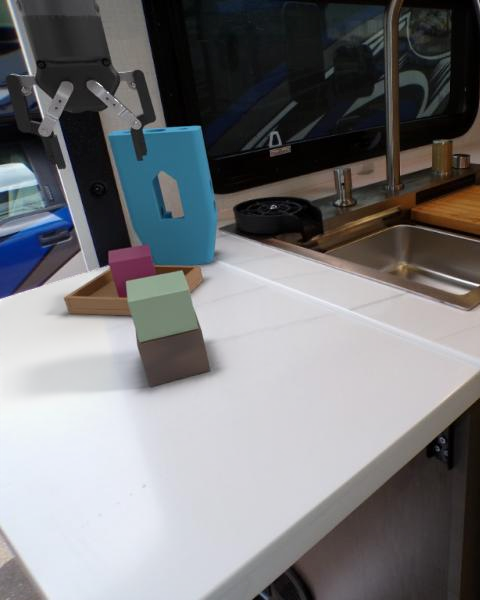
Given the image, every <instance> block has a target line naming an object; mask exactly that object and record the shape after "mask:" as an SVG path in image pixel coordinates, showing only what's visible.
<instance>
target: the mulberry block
mask: <svg viewBox="0 0 480 600" xmlns="http://www.w3.org/2000/svg"><path fill="white" fill-rule="evenodd" d="M107 254H108V255H107V256H108V266H109V268H110V270H111V273H112V276H113V279H114V283H115V286H116V289H117V293H118V296H119V297H120V298H127V289H126V281H130V280H135V279H140V278H145V277H150V276H155V275H156V272H155V268H154V264H153V260H152V256H151V253H150V249H149V245H148V244H147V245H142V244H141V245H136V246H130V247H124V248H117V249H113V250H108V253H107Z"/></svg>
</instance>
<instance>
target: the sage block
mask: <svg viewBox="0 0 480 600" xmlns="http://www.w3.org/2000/svg"><path fill="white" fill-rule="evenodd" d="M126 289H127V300H128V305H129V309H130V312H131V315H132V316H131V315H130V316H131V319H132V322H133V326H134V328H135V329H136V331H135V333H136V332H137V336H138V339H139V342H140V343H141V342H145V341H149V340H154V339H158V338H162V337H166V336H171V335H175V334H179V333H183V332H187V331H192V330H196V329H198V325H197V320H196V316H195V312H196V311H195V312H194V309H195V307H194V304H193V300H192V295H191V292H190V290H189V287H188V284H187V282H186V279H185V276H184V273H183V271H182V270H181V271H176V272H171V273H166V274H161V275H155V276H150V277H145V278H140V279H135V280H130V281H126ZM193 307H194V308H193ZM135 329H134V330H135Z"/></svg>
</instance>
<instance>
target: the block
mask: <svg viewBox="0 0 480 600" xmlns="http://www.w3.org/2000/svg"><path fill="white" fill-rule="evenodd" d="M202 129H203V128H202V126H201V125H190V126H189V125H188V126H187V125H186V126H170V127H155V128H154V127H153V128H143V134H144V139H145V143H146V147H147V155H145V156H142V157H143V161H137V158H136V154H135V150H134V145H133V141H132V137H131V133H130V129H121V130H115V131H112V132H110V133H109V134H107V139H108V142H109V145H110V150H111V153H112V157H113V160H114V164H115V168H116V172H117V175H118V179H119V183H120V187H121V191H122V194H123V197H124V200H125V204H126V208H127V212H128V216H129V219H130V223H131V227H132V229H133V231H134V233H135V235H136V236H137V238H138V240H139V241H140V243H141V245H147V244H148V245H149V249H150V253H151V256H152V260H153V264H154V265H176V266H200V265H207V264H210V263H213V260H214V256H215V251H216V242H217V241H216V239H217V229H218V221H219V220H218V219H219V213H218V208H217V202H216V197H215V192H214V187H213V181H212V177H211V171H210V167H209V161H208V157H207V150H206V146H205V141H204V135H203V130H202ZM160 172H164V173H165V174H166V175H168V176H169V177H170V178H172V179H173V180H174V181H176V186H177V189H178V195H179V200H180V203H181V207H182V213H183V216H178V217H173V212H172V210H168V211H167V209H166V203H165V200H164V196H163V192H162V188H161V184H160V183H161V182H160V179H159V174H160Z"/></svg>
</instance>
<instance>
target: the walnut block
mask: <svg viewBox="0 0 480 600" xmlns="http://www.w3.org/2000/svg"><path fill="white" fill-rule="evenodd" d="M193 308H194V312H195V316H196V320H197V325H198V329H196V330H192V331H187V332H183V333H179V334H175V335H171V336H166V337H162V338H158V339H154V340H149V341H145V342H141V343H140V342H139V339H138V336H137V332H136V329H134V330H135V340H136V346H137V351H138V353H139V357H140V360H141V364H142V366H143V370H144V374H145V378H146V380H147V384H148V386H149V388H152V387H155V386H159V385H163V384H167V383H170V382H174V381H178V380H181V379H186V378H188V377H192V376H193V377H194V376H196V375H199V374H203V373H207V372H211V365H210V360H209V356H208V351H207V348H206V343H205V339H204V334H203V330H202V327H201V325H200V322H199V318H198V315H197V313H196V310H195V307H194V306H193Z"/></svg>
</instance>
